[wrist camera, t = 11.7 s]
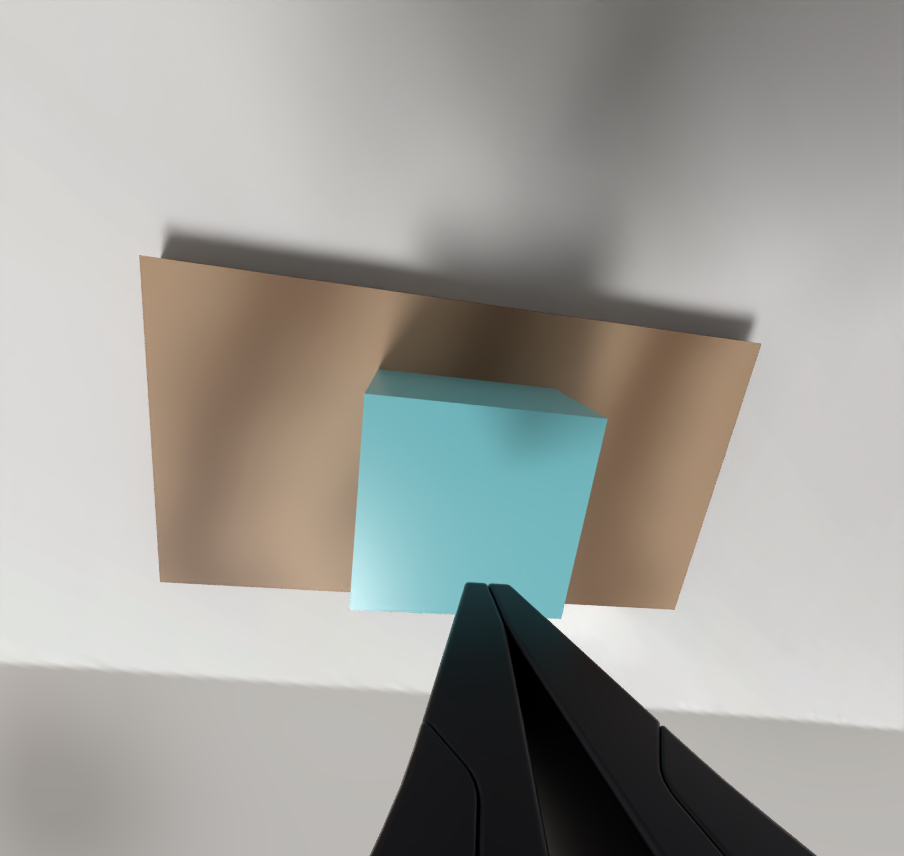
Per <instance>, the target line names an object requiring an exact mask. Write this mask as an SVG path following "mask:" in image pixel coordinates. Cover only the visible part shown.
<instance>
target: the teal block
mask: <svg viewBox="0 0 904 856" xmlns="http://www.w3.org/2000/svg"><path fill="white" fill-rule="evenodd" d="M607 420H608V419H607V418H605V417H604V416H602V415H600V414H598V413H597V412H595V411H593V410H592V409H590V408H588V407H586V406H585V405H583V404H581V403H579V402H578V401H576V400H574V399H573V398H571V397H569V396H567V395H566V394H564V393H562V392H560V391H559V390H557V389H554V388H545V387H536V386H527V385H518V384H509V383H500V382H491V381H482V380H473V379H464V378H455V377H446V376H437V375H428V374H419V373H410V372H401V371H392V370H383V369H378V370H377V372H376V374H375V376H374V377H373V379H372V381H371V383H370V385H369V386H368V388H367V390H366V392H365V394H364V408H363V422H362V436H361V451H360V465H359V479H358V494H357V508H356V522H355V537H354V551H353V565H352V580H351V594H350V608H349V610H364V611H388V612H412V613H436V614H456V611H457V608H458V605H459V602H460V598H461V595H462V592H463V589H464V586H465V584H466V583H467V582H478V583H486V584H487V585H489V584H490V583H495V584H508V585H510V586H511V587H513V588H514V589H515V590H516V591H517V592H518V593H519V594H520V595H521V596H522V597H524V598H525V599H526V600H527V601H528V602H529V603H530V604H531V605H532V606H533V607H535V608H536V609H537V610H538V611H539V612H540V613H541V614H542V615H543V616H544V617H545V618H555V619H561V617H562V613H563V608H564V604H565V600H566V595H567V591H568V587H569V583H570V578H571V574H572V570H573V565H574V561H575V557H576V553H577V548H578V544H579V540H580V535H581V531H582V527H583V523H584V518H585V514H586V510H587V505H588V501H589V497H590V493H591V488H592V484H593V480H594V475H595V471H596V467H597V463H598V458H599V454H600V450H601V445H602V441H603V437H604V433H605V428H606V424H607Z"/></svg>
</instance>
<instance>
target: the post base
mask: <svg viewBox="0 0 904 856" xmlns="http://www.w3.org/2000/svg"><path fill="white" fill-rule="evenodd" d="M139 256H140V272H141V288H142V304H143V319H144V335H145V351H146V367H147V382H148V398H149V414H150V430H151V446H152V461H153V477H154V493H155V509H156V524H157V540H158V556H159V572H160V582H170V583H188V584H207V585H226V586H244V587H263V588H281V589H300V590H319V591H337V592H351V580H352V565H353V551H354V537H355V522H356V508H357V494H358V479H359V465H360V451H361V436H362V422H363V408H364V394H365V392H366V390H367V388H368V386H369V385H370V383H371V381H372V379H373V377H374V376H375V374H376V372H377V370H378V369H383V370H392V371H401V372H410V373H419V374H428V375H437V376H446V377H455V378H464V379H473V380H482V381H491V382H500V383H509V384H518V385H527V386H536V387H545V388H554V389H557V390H559V391H560V392H562V393H564V394H566V395H567V396H569V397H571V398H573V399H574V400H576V401H578V402H579V403H581V404H583V405H585V406H586V407H588V408H590V409H592V410H593V411H595V412H597V413H598V414H600V415H602V416H604V417H605V418H607V419H608V420H607V424H606V428H605V433H604V437H603V441H602V445H601V450H600V454H599V458H598V463H597V467H596V471H595V475H594V480H593V484H592V488H591V493H590V497H589V501H588V505H587V510H586V514H585V518H584V523H583V527H582V531H581V535H580V540H579V544H578V548H577V553H576V557H575V561H574V565H573V570H572V574H571V578H570V583H569V587H568V591H567V595H566V600H565V604H579V605H598V606H616V607H635V608H653V609H672V610H674V609H675V606H676V603H677V600H678V597H679V594H680V591H681V588H682V585H683V582H684V579H685V576H686V573H687V570H688V566H689V563H690V560H691V557H692V554H693V551H694V548H695V545H696V542H697V539H698V536H699V533H700V530H701V527H702V524H703V521H704V518H705V515H706V512H707V508H708V505H709V502H710V499H711V496H712V493H713V490H714V487H715V484H716V481H717V478H718V475H719V472H720V469H721V466H722V463H723V460H724V457H725V453H726V450H727V447H728V444H729V441H730V438H731V435H732V432H733V429H734V426H735V423H736V420H737V417H738V414H739V411H740V408H741V405H742V402H743V398H744V395H745V392H746V389H747V386H748V383H749V380H750V377H751V374H752V371H753V368H754V365H755V362H756V359H757V356H758V353H759V350H760V347H761V344H760V343H753V342H746V341H739V340H732V339H725V338H718V337H711V336H704V335H697V334H690V333H683V332H676V331H669V330H662V329H655V328H648V327H641V326H634V325H626V324H619V323H612V322H605V321H598V320H591V319H584V318H577V317H570V316H563V315H556V314H549V313H542V312H535V311H528V310H521V309H514V308H507V307H500V306H493V305H486V304H479V303H472V302H465V301H458V300H451V299H444V298H437V297H430V296H423V295H416V294H408V293H401V292H394V291H387V290H380V289H373V288H366V287H359V286H352V285H345V284H338V283H331V282H324V281H317V280H310V279H303V278H296V277H289V276H282V275H275V274H268V273H261V272H254V271H247V270H240V269H233V268H226V267H219V266H212V265H205V264H198V263H190V262H183V261H176V260H169V259H162V258H155V257H148V256H141V255H139Z"/></svg>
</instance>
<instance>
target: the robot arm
mask: <svg viewBox="0 0 904 856" xmlns="http://www.w3.org/2000/svg"><path fill="white" fill-rule="evenodd" d="M370 856H816V855H815V854H814V853H813V852H812V851H810V850H809V849H808V848H807V847H805V846H804V845H803V844H802V843H800V842H799V841H798V840H797V839H795V838H794V837H793V836H792V835H791V834H789V833H788V832H787V831H786V830H784V829H783V828H782V827H781V826H779V825H778V824H777V823H776V822H774V821H773V820H772V819H771V818H770V817H768V816H767V815H766V814H765V813H764V812H762V811H761V810H760V809H759V808H758V807H756V806H755V805H754V804H753V803H751V802H750V801H749V800H748V799H747V798H746V797H744V796H743V795H742V794H741V793H739V792H738V791H737V790H736V789H735V788H734V787H732V786H731V785H730V784H729V783H728V782H726V781H725V780H724V779H723V778H722V777H721V776H720V775H718V774H717V773H716V772H715V771H714V770H713V769H712V768H710V767H709V766H708V765H707V764H706V763H705V762H704V761H703V760H701V759H700V758H699V757H698V756H697V755H696V754H695V753H694V752H692V751H691V750H690V749H689V748H688V747H687V746H685V744H683V743H682V742H681V741H680V740H679V739H678V738H677V737H676V736H675V735H673V734H672V733H671V732H670V731H669V730H668V729H667V728H666V727H665V726H661V727H660V723H659V721H658V720H657V719H656V718H655V717H654V716H653V715H651V714H650V713H649V712H648V711H647V710H646V709H645V708H644V707H643V706H642V705H641V704H639V703H638V702H637V701H636V700H635V699H634V698H633V697H632V696H631V695H630V694H629V693H627V692H626V691H625V690H624V689H623V688H622V687H621V686H620V685H619V684H618V683H617V682H615V681H614V680H613V679H612V678H611V677H610V676H609V675H608V674H607V673H606V672H604V671H603V670H602V669H601V668H600V667H599V666H598V665H597V664H596V663H595V662H594V661H592V660H591V659H590V658H589V657H588V656H587V655H586V654H585V653H584V652H583V651H582V650H580V649H579V648H578V647H577V646H576V645H575V644H574V643H573V642H572V641H571V640H570V639H568V638H567V637H566V636H565V635H564V634H563V633H562V632H561V631H560V630H559V629H557V628H556V627H555V626H554V625H553V624H552V623H551V622H550V621H549V620H548V619H547V618H545V617H544V616H543V615H542V614H541V613H540V612H539V611H538V610H537V609H536V608H535V607H533V606H532V605H531V604H530V603H529V602H528V601H527V600H526V599H525V598H524V597H522V596H521V595H520V594H519V593H518V592H517V591H516V590H515V589H514V588H513V587H511V586H510V585H508V584H495V583H490V584H489V585H487V584H486V583H478V582H467V583H466V584H465V586H464V589H463V592H462V595H461V598H460V602H459V605H458V608H457V611H456V615H455V618H454V621H453V624H452V627H451V631H450V634H449V637H448V640H447V644H446V647H445V650H444V653H443V656H442V660H441V663H440V666H439V669H438V673H437V676H436V679H435V682H434V685H433V689H432V692H431V695H430V698H429V702H428V705H427V708H426V711H425V714H424V718H423V722H422V724H421V726H420V729H419V733H418V736H417V739H416V742H415V746H414V749H413V752H412V755H411V757H410V760H409V763H408V766H407V769H406V772H405V775H404V778H403V780H402V783H401V786H400V788H399V791H398V793H397V795H396V798H395V800H394V802H393V805H392V807H391V809H390V812H389V814H388V817H387V819H386V821H385V823H384V826H383V828H382V831H381V833H380V835H379V837H378V839H377V841H376V843H375V846H374V848H373V850H372V852H371V854H370Z"/></svg>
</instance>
